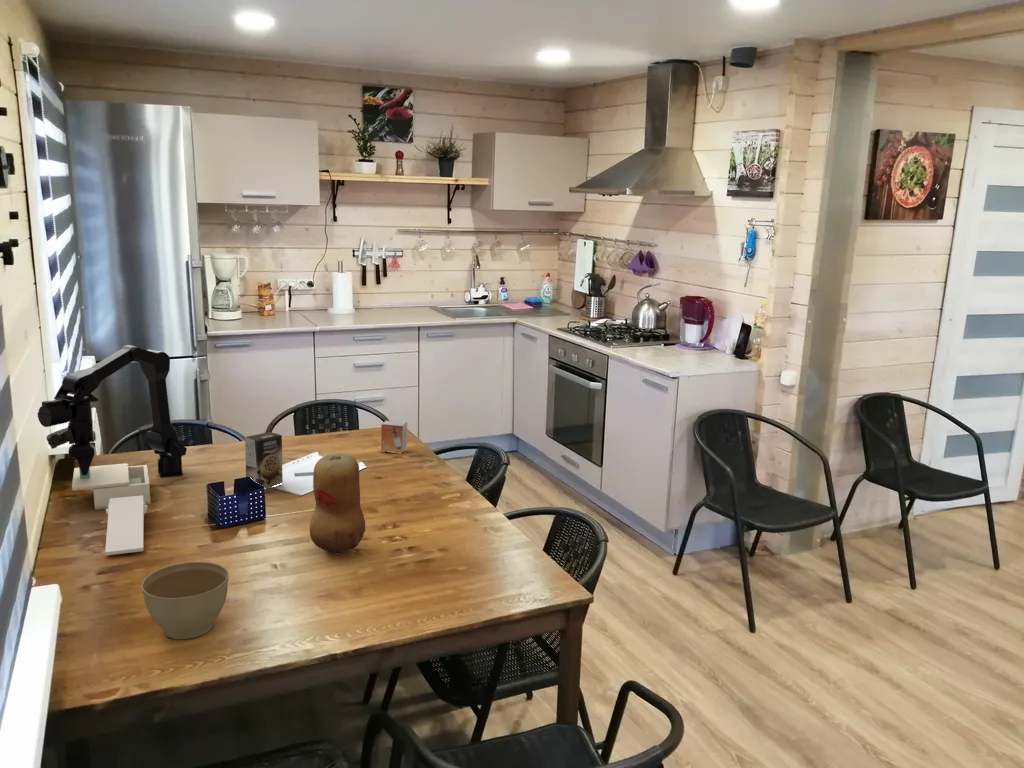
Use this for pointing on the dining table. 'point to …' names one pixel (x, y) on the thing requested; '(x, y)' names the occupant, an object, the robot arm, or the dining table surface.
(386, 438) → the small box
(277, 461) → the coffee box
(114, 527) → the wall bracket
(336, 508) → the butternut squash
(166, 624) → the planter bowl
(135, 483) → the carton
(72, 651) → the dining table surface
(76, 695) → the dining table surface
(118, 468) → the cover panel
